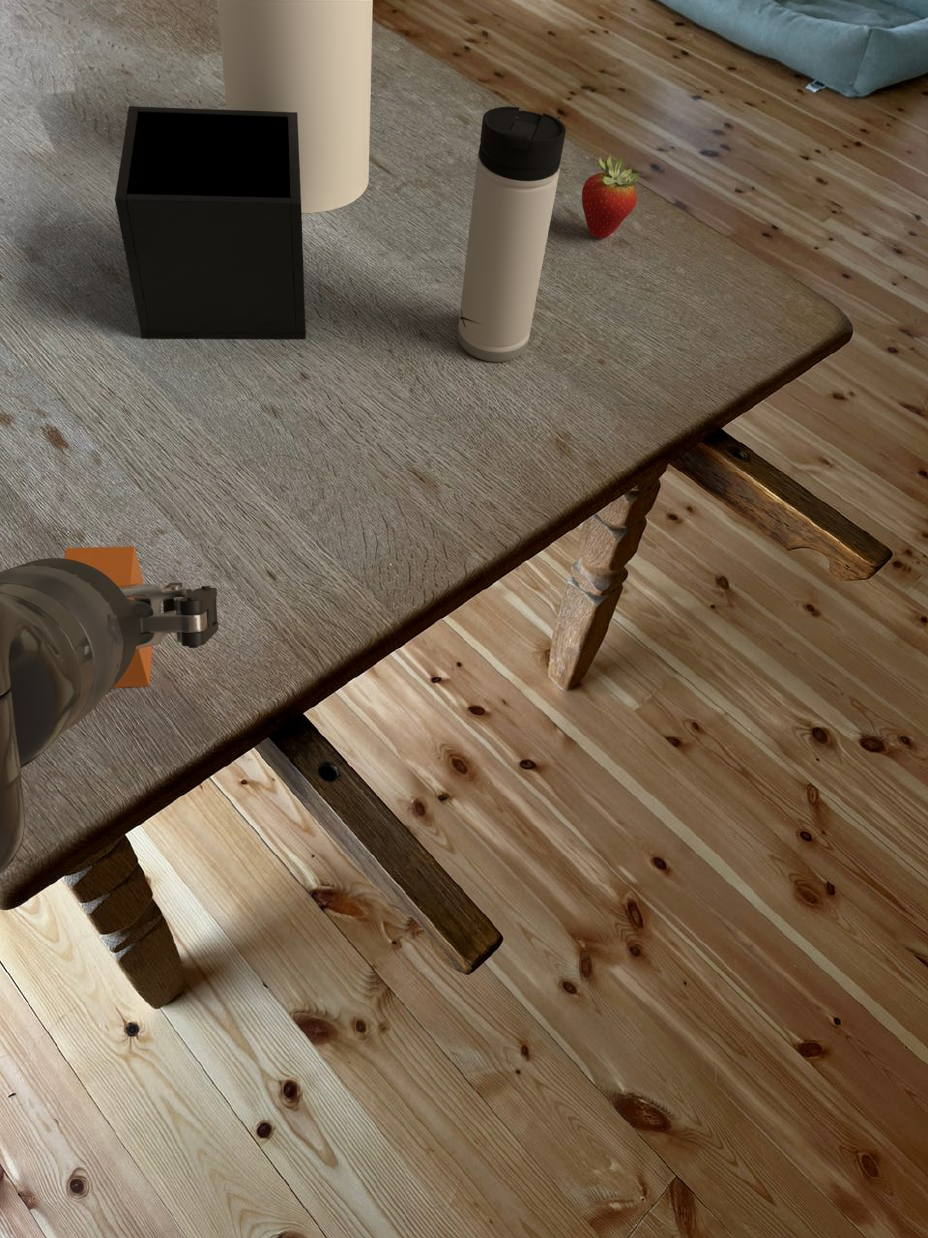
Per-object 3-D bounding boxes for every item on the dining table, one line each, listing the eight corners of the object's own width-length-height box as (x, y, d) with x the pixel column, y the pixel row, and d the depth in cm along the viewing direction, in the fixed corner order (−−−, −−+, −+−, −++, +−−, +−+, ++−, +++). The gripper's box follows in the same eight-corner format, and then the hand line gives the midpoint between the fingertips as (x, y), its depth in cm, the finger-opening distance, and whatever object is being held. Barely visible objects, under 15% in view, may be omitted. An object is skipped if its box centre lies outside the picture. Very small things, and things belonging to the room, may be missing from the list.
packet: (84, 689, 64) (55, 614, 57) (91, 625, 67) (65, 547, 60) (149, 686, 64) (128, 611, 58) (154, 623, 67) (134, 545, 61)
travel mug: (448, 356, 87) (472, 128, 71) (466, 311, 91) (493, 85, 75) (518, 372, 86) (559, 147, 70) (533, 327, 90) (575, 103, 74)
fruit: (633, 251, 99) (654, 174, 93) (583, 255, 98) (600, 177, 91) (615, 221, 102) (633, 144, 95) (565, 225, 101) (580, 147, 94)
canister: (389, 200, 100) (398, -22, 84) (258, 222, 96) (241, -7, 80) (339, 131, 107) (339, -86, 91) (215, 149, 102) (191, -76, 86)
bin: (141, 338, 84) (114, 199, 74) (151, 243, 92) (128, 105, 82) (305, 339, 86) (301, 203, 76) (302, 245, 94) (297, 111, 84)
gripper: (-123, 734, 46) (-11, 665, 62) (199, 720, 48) (227, 656, 64) (-140, 569, 45) (-21, 542, 60) (191, 562, 47) (222, 538, 62)
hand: (106, 601), depth 62 cm, fingers open, 8 cm apart
